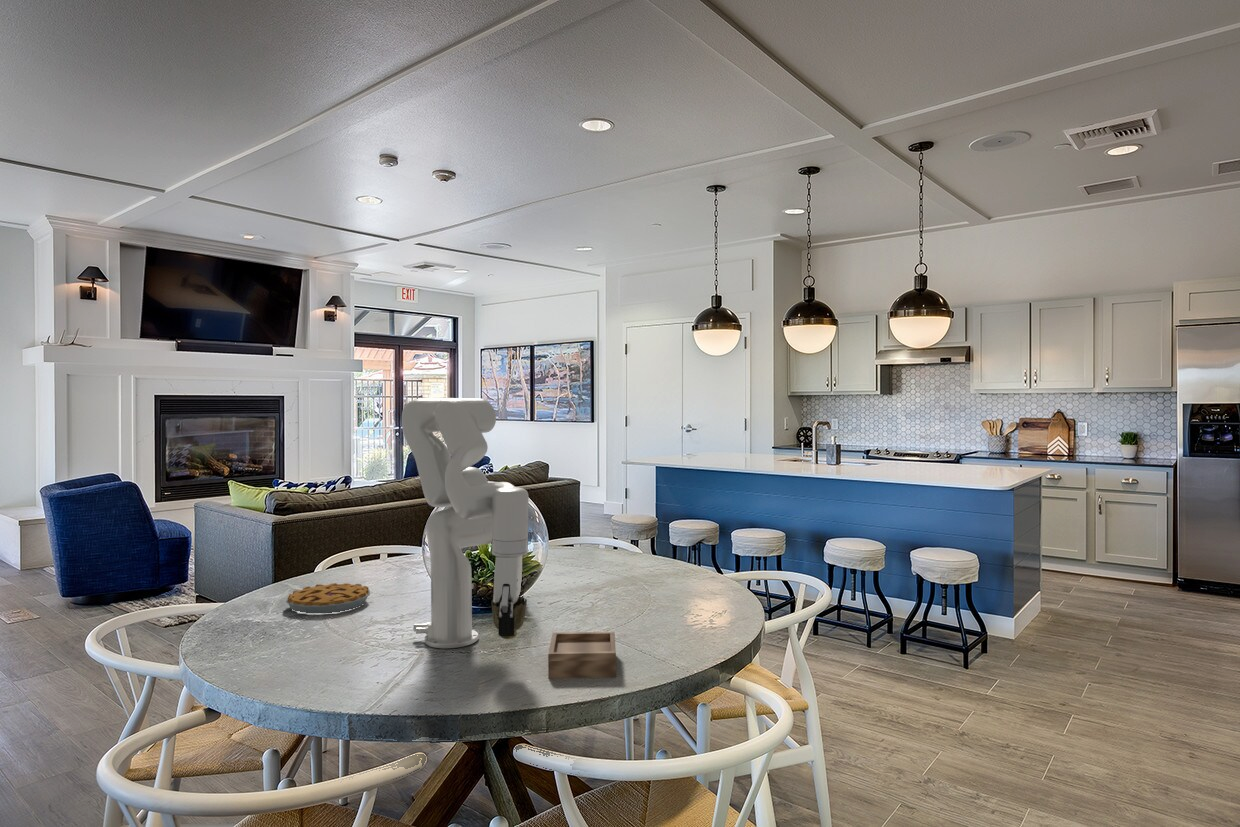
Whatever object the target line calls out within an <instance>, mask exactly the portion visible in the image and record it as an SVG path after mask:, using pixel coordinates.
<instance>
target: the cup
mask: <svg viewBox="0 0 1240 827" xmlns="http://www.w3.org/2000/svg"><path fill="white" fill-rule="evenodd" d="M490 602H491V613H492V621H493V624H494V626H495V628H496V629H497V630H499V612H500V600H499V602H497V603H496V604H495V603H494V602H493V599H491V601H490ZM508 602H512V599H509V600H508ZM527 603H528V600H527V598H525V597H523V598H522V599H521V597H520V596H519V598H518V600H517V602H516V603H515V604H514V607H515V608H514V610H513V617H515V618H514V636H500V638H502V639H504V640H512V639H515V638H516V637H517V635H518V631H519V630H520V628H522V627H523V624H524V622H525V619H526V618H525V616H526V610H527ZM508 607H511V605H508Z"/></svg>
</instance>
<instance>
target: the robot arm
mask: <svg viewBox="0 0 1240 827" xmlns="http://www.w3.org/2000/svg"><path fill="white" fill-rule="evenodd" d="M496 415H497V414H496V411H495V409H494V406H493V405H492V404H491V402H490V401H488V400H487V399H485V398H478V397H477V398H474V397H473V398H469V397H468V398H466V397H465V398H464V397H456V398H455V397H444V398H443V397H426V398H425V397H424V398H418V399H417V398H416V399H413V400H411V401H409V402H407V403H406V404H405V405H404V407H403V409H402V412H401V428H402V432H403V436H404V439H405V441H406V444H407V445H408V447H409V450H410V451H411V453H412V456H413V458H414V460H415V463H416V467H417V468H416V469H417V472H418V473H417V474H418V477H419V481H420V485H421V489H422V491H423V492H422V493H423V495H424V498H425V501H426V503H427V504H428V505H429V506H431V507H434V508H446V509H441V510H438V511H435V512H433V513H432V514H431V515H430V516H429V517H428V519H427V521H426V525H425V526H426V527H425V532H426V539H427V544H428V548H429V556H430V557H429V560H430V561H429V562H430V608H431V609H430V621H428V622H426V623H421V622H420V623H419V622H417V623H416V622H415V623H413V626H412V627H413V628H412V630H413V632H414V633H416V635H417V634H425V637H424V643H425V645H427V646H428V647H430V648H434V649H436V648H437V649H456V648H462V647H463V648H464V647H467V646H470V645H472V644H474V643H476V642H477V641H478V640H479V633H478V632H477V631H476V630H474V629H473V627H472V626H473V623H472V622H473V618H472V617H473V614H472V613H473V608H472V607H473V606H472V601H473V600H472V597H473V596H472V594H473V593H472V591H473V590H472V589H473V588H472V566H471V562H470V560H469V559H468V558H467V556H466V555H465V553H463V550H462V549H464V548H469V547H477V546H478V547H479V546H483V545H489V544H491V555H493V556H494V557H495V564H494V574H493V575H494V576H493V578H494V579H493V597H492V600H493V602H494V603H495V604H496V603H497V602H499V600H500V612H499V630H498V629H497V630H498V631H497V632H498V634H497V635H498V636H499V637H501V636H514V618H515V617H513V610H514V608H515V607H514V604H515V603H516V602H517V600H518V598H519V595H520V592H521V582H522V571H523V556H526V555H528V553H529V552H528V551H529V499H530V498H529V493H528V490H526V489H525V488H523V487H519V486H515V485H514V484H512V483H511V482H508V481H494V482H493V481H492V482H489V481H488V478H487V477H486V475H485V473H484V472H483V471H482V470H481V469H480V468H478V467H475V466H474V465H475V464H477V463H479V462H480V461H481V460H482V459H483V458H484V457H485V456H486V454H487V452H488V442H487V440H486V439H485V437H484V433H489V432H491V431H492V430H493V429H494V427H495V426H496V422H497V416H496ZM434 433H440V434H441V436H442V438H443V441H444V443H443V441H442V440H441V439H440V438H439V437H437V436H436V435H434ZM448 507H452V508H448ZM509 599H512V602H508V600H509ZM508 605H511V607H508Z"/></svg>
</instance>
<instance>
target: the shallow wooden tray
mask: <svg viewBox="0 0 1240 827" xmlns="http://www.w3.org/2000/svg"><path fill="white" fill-rule="evenodd" d="M615 633H616V632H615V631H588V632H587V631H585V632H583V631H582V632H579V631H578V632H577V631H576V632H569V631H568V632H552V634H551V640H550V643H549V648H548V649H549V650H548V652H547V653H548V654H547V658H548V659H547V661H548V662H547V665H548V666H547V668H548V671H547V672H548V674H547V675H548V676H547V679H588V678H589V679H591V678H592V679H596V678H600V679H602V678H603V679H604V678H605V679H606V678H607V679H608V678H611V679H612V678H617V653H616V652H617V650H616V637H615Z"/></svg>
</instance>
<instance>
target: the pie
mask: <svg viewBox="0 0 1240 827" xmlns="http://www.w3.org/2000/svg"><path fill="white" fill-rule="evenodd" d="M370 595H371V590H370V589H369V587H368V586H366V585H364V586H362V583H361V584H360V583H356V584H351V583H345V582H344V583H342V584H341V583H340V584H339V583H337V582H336V583H335V582H334V583H330V584H315V586H313V587H312V586H305V587H303V588H302V589H301V590H300V589H299V590H293V592H292V593H289V594H288V596H287V598H286V601H285V602H286V604H288V606H289V607H290V610H291V609H293V610H295V611H300V612H306V613H332V612H340V611H345V610H349V609H353V608H356V607H359V606H361V605H362V604H364V605H365V604H366V601H367V599H368V597H369V596H370ZM362 606H363V605H362ZM362 606H361V607H362ZM359 608H360V607H359Z"/></svg>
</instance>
